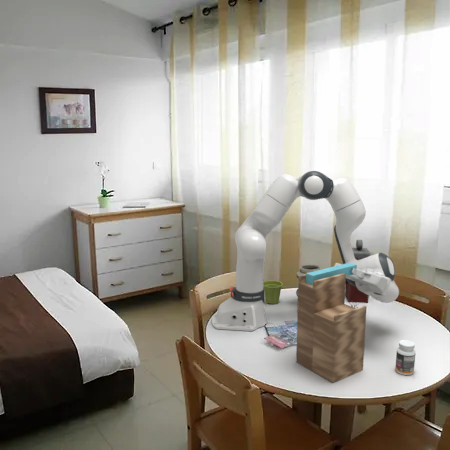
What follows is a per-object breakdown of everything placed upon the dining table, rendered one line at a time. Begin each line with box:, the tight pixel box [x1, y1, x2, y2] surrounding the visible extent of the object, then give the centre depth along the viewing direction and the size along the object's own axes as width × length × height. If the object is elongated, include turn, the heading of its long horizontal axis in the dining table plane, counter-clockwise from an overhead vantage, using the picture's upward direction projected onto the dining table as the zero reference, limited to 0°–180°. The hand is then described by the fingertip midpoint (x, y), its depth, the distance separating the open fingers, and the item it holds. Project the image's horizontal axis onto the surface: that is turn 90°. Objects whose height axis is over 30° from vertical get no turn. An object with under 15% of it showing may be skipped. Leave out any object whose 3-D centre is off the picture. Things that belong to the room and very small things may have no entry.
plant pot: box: [263, 280, 284, 305], centre depth 216 cm, size 9×9×9 cm
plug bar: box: [306, 263, 357, 285], centre depth 160 cm, size 21×3×3 cm, turn 125°
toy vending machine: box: [345, 239, 372, 304], centre depth 217 cm, size 9×11×28 cm
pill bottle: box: [395, 339, 416, 376], centre depth 154 cm, size 6×6×10 cm
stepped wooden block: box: [295, 273, 367, 384], centre depth 155 cm, size 14×16×30 cm
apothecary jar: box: [295, 263, 321, 298], centre depth 210 cm, size 12×12×18 cm
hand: (346, 268), depth 164 cm, fingers closed on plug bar, 3 cm apart
